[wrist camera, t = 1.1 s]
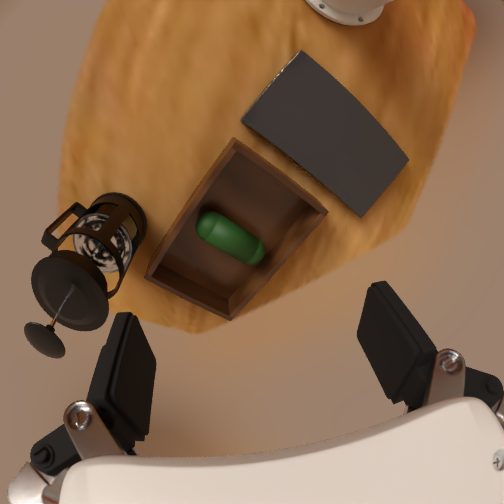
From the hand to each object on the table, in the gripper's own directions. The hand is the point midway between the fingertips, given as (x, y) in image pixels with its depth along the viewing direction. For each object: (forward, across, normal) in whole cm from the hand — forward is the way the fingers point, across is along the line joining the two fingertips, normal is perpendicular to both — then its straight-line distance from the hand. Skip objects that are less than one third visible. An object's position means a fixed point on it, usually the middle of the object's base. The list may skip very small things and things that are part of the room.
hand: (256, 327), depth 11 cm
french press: (+28, +17, +5) cm, 33 cm away
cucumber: (+27, 0, +9) cm, 29 cm away
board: (+27, -14, -4) cm, 31 cm away
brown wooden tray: (+28, 0, +9) cm, 29 cm away
